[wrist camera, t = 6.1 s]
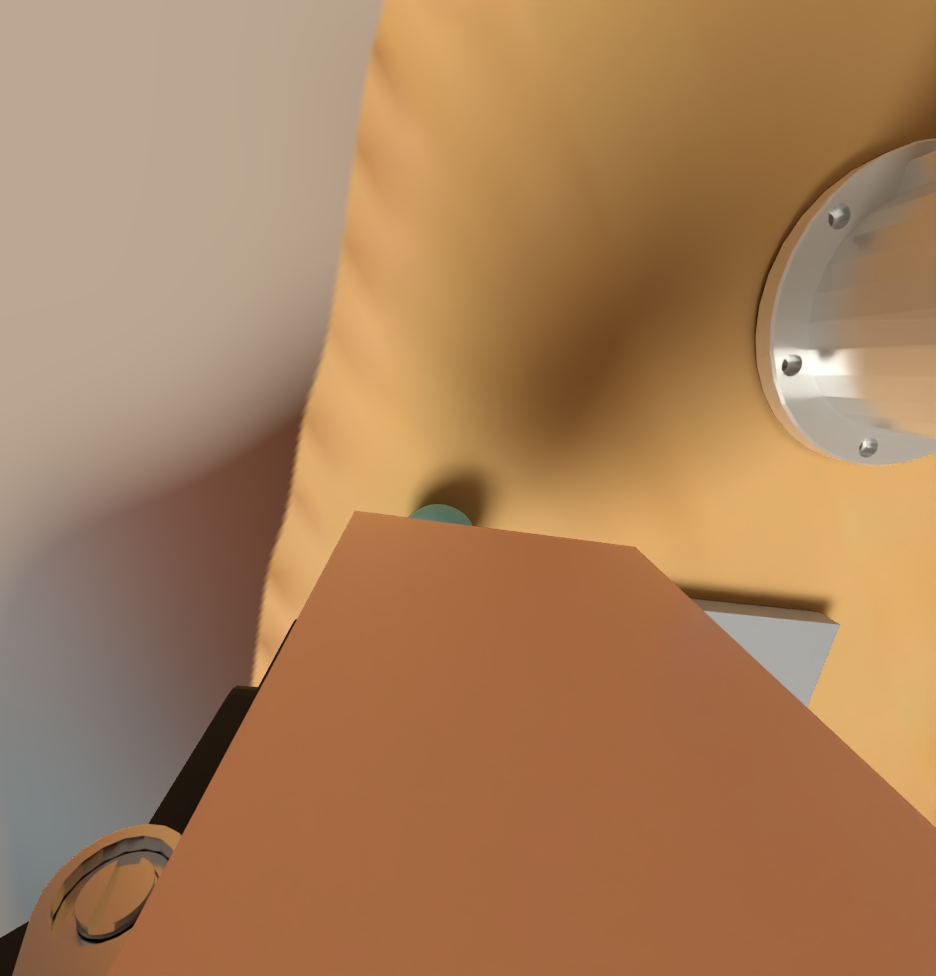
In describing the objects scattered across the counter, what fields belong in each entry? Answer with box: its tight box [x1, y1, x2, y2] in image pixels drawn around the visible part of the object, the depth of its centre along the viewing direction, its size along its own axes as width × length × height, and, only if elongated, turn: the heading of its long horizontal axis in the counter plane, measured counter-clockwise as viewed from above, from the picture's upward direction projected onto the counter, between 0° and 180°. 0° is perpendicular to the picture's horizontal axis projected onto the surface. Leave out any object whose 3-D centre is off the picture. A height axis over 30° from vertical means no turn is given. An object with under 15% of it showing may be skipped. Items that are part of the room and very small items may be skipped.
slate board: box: [690, 598, 840, 707], centre depth 23 cm, size 12×12×1 cm
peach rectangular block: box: [107, 511, 936, 976], centre depth 7 cm, size 6×6×8 cm
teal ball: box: [409, 504, 473, 526], centre depth 19 cm, size 3×3×3 cm
